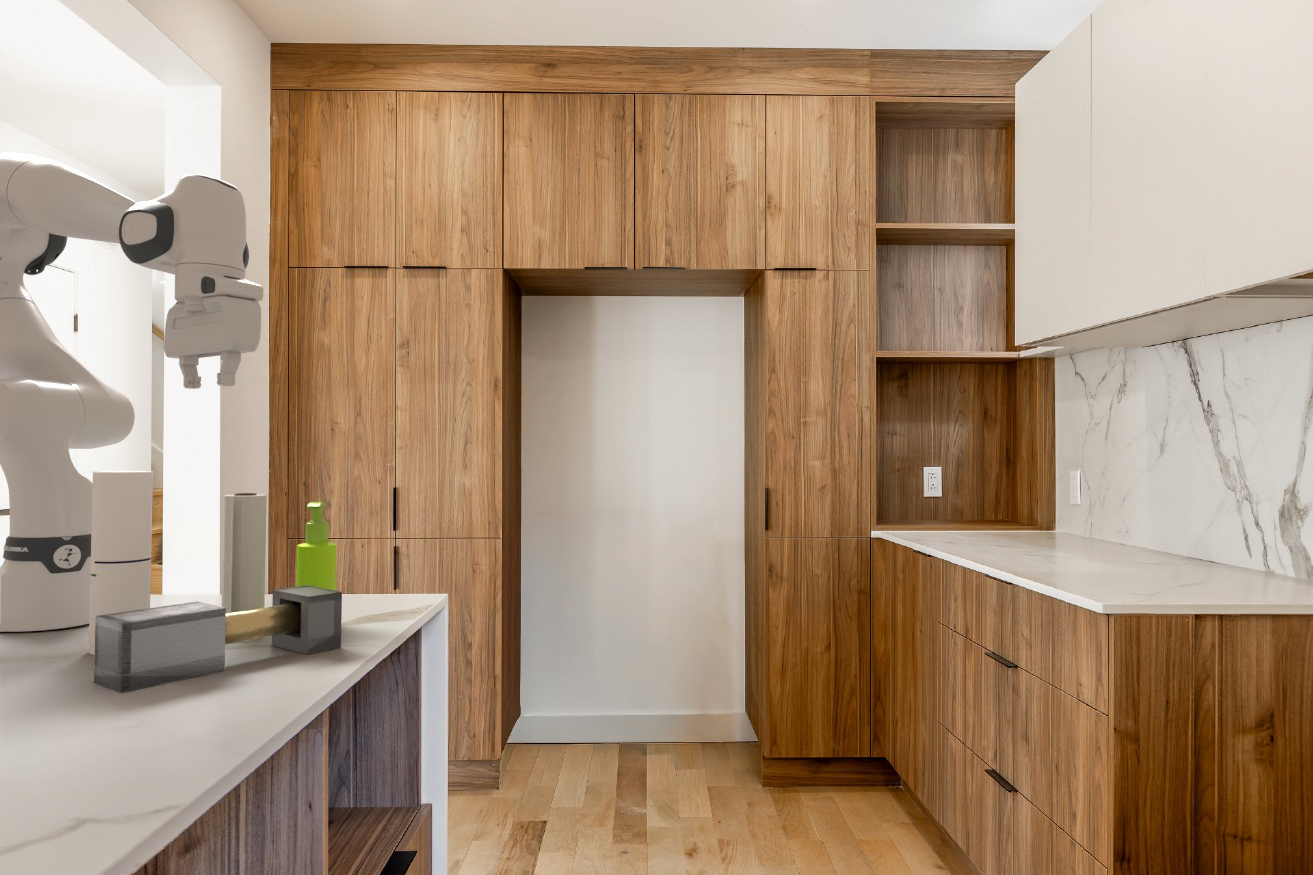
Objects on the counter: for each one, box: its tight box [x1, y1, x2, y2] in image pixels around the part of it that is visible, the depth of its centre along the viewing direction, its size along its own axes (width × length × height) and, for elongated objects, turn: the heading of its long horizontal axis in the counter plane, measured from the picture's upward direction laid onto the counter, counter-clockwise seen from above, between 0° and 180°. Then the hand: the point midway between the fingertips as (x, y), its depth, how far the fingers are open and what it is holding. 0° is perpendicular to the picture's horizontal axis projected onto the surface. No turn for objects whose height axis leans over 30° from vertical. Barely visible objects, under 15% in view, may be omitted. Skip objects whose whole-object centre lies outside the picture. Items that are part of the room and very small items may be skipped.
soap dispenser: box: [295, 501, 337, 591], centre depth 131 cm, size 6×7×20 cm
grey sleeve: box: [93, 601, 226, 694], centre depth 101 cm, size 12×7×8 cm, turn 145°
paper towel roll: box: [221, 492, 268, 614], centre depth 127 cm, size 7×6×21 cm
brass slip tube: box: [225, 601, 301, 646], centre depth 111 cm, size 16×5×5 cm, turn 145°
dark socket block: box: [271, 585, 343, 655], centre depth 118 cm, size 5×9×8 cm, turn 55°
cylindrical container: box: [88, 470, 154, 656], centre depth 115 cm, size 7×7×25 cm
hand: (208, 387), depth 116 cm, fingers open, 8 cm apart
